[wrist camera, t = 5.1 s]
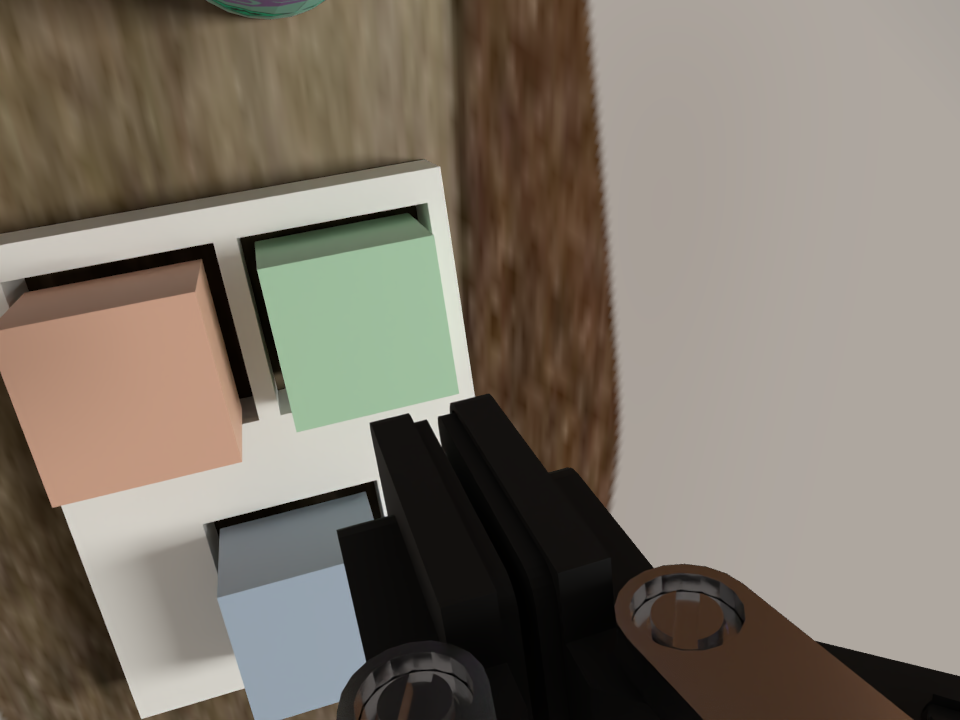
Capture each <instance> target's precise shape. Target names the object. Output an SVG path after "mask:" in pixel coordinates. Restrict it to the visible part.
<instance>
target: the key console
mask: <svg viewBox="0 0 960 720" xmlns="http://www.w3.org/2000/svg"><path fill="white" fill-rule="evenodd" d="M412 205H416V211H417V217H418V222H419V223H420V224H422V225H423V226H424V227H425V228H426V229H427V230H429V231H430V232H431V233H432V234H433V235H434V238H435V245H436V251H437V257H438V264H439V270H440V276H441V283H442V289H443V295H444V301H445V308H446V314H447V320H448V327H449V333H450V339H451V346H452V352H453V358H454V365H455V371H456V377H457V383H458V390H459V394H456V395H452V396H448V397H444V398H439V399H435V400H431V401H427V402H423V403H418V404H414V405H410V406H406V407H402V408H397V409H393V410H389V411H385V412H381V413H376V414H372V415H368V416H364V417H359V418H355V419H351V420H347V421H343V422H338V423H334V424H330V425H326V426H322V427H317V428H313V429H309V430H305V431H301V432H296V428H295V423H294V419H293V415H292V411H291V407H290V403H289V399H288V395H287V391H286V389H282V390H277V386H276V382H275V378H274V374H273V370H272V366H271V361H270V357H269V353H268V349H267V345H266V341H265V337H264V333H263V329H262V325H261V321H260V317H259V313H258V309H257V305H256V301H255V297H254V293H253V289H252V285H251V281H250V277H249V273H248V269H247V265H246V261H245V257H244V253H243V249H242V245H241V241H240V238H241V237H247V236H252V235H257V234H263V233H268V232H273V231H279V230H284V229H289V228H295V227H300V226H305V225H311V224H316V223H321V222H327V221H332V220H337V219H343V218H348V217H353V216H359V215H364V214H369V213H375V212H380V211H386V210H391V209H396V208H402V207H407V206H412ZM209 243H213V244H214V248H215V252H216V256H217V259H218V263H219V267H220V271H221V275H222V279H223V282H224V286H225V290H226V294H227V298H228V302H229V305H230V309H231V313H232V317H233V321H234V325H235V328H236V332H237V336H238V340H239V344H240V347H241V351H242V355H243V359H244V363H245V367H246V370H247V374H248V378H249V382H250V386H251V390H252V393H253V396H251V397H246V398H242V399H240V403H241V407H242V462H240V463H236V464H232V465H228V466H223V467H219V468H215V469H211V470H207V471H203V472H199V473H194V474H190V475H186V476H182V477H178V478H174V479H170V480H166V481H161V482H157V483H153V484H149V485H145V486H141V487H137V488H132V489H128V490H124V491H120V492H116V493H112V494H108V495H104V496H99V497H95V498H91V499H87V500H83V501H79V502H75V503H70V504H66V505H62V506H61V507H62V510H63V513H64V515H65V518H66V521H67V523H68V526H69V529H70V531H71V534H72V536H73V539H74V542H75V544H76V547H77V550H78V552H79V555H80V558H81V560H82V563H83V566H84V568H85V571H86V574H87V576H88V579H89V582H90V584H91V587H92V589H93V592H94V595H95V597H96V600H97V603H98V605H99V608H100V611H101V613H102V616H103V619H104V621H105V624H106V627H107V629H108V632H109V635H110V637H111V640H112V642H113V645H114V648H115V650H116V653H117V656H118V658H119V661H120V664H121V666H122V669H123V672H124V674H125V677H126V680H127V682H128V685H129V688H130V690H131V693H132V696H133V698H134V701H135V703H136V706H137V709H138V711H139V714H140V717H141V719H143V718H146V717H149V716H153V715H156V714H160V713H163V712H166V711H170V710H173V709H176V708H180V707H183V706H186V705H190V704H193V703H197V702H200V701H203V700H207V699H210V698H213V697H217V696H220V695H223V694H227V693H230V692H234V691H237V690H240V689H244V688H245V687H244V684H243V680H242V677H241V674H240V671H239V668H238V664H237V661H236V658H235V655H234V651H233V648H232V645H231V642H230V639H229V635H228V632H227V629H226V626H225V622H224V619H223V616H222V613H221V610H220V606H219V603H218V600H217V586H218V562H219V537H218V534H217V531H216V527H215V524H214V521H218V520H222V519H226V518H229V517H233V516H237V515H241V514H245V513H249V512H253V511H257V510H261V509H265V508H269V507H273V506H277V505H281V504H284V503H288V502H292V501H296V500H300V499H304V498H308V497H312V496H316V495H320V494H324V493H328V492H332V491H335V490H339V489H343V488H347V487H351V486H355V485H359V484H363V483H367V482H371V481H374V485H375V490H376V494H377V499H378V504H379V509H380V513H381V518H382V517H386V516H388V515H387V510H386V505H385V501H384V496H383V491H382V486H381V481H380V476H379V471H378V466H377V461H376V456H375V451H374V447H373V442H372V437H371V431H370V422H374V421H378V420H382V419H386V418H390V417H394V416H399V415H403V414H407V413H409V414H410V415H411V417H412V419H413V421H414V422H418V421H422V420H426V419H427V421H428V422H429V424H430V426H431V428H432V430H433V432H434V434H435V435H436V437H437V439H438V441H439V443H440V445H441V441H440V435H439V428H438V416H442V415H446V414H450V403H452V402H456V401H460V400H464V399H468V398H473V397H475V395H474V388H473V382H472V375H471V368H470V362H469V355H468V349H467V342H466V335H465V329H464V322H463V315H462V309H461V302H460V296H459V289H458V282H457V276H456V269H455V262H454V256H453V249H452V243H451V236H450V229H449V223H448V216H447V209H446V203H445V196H444V190H443V183H442V176H441V170H440V166H438V165H436V164H434V163H431V162H429V161H427V160H425V159H424V160H418V161H413V162H407V163H401V164H395V165H390V166H384V167H378V168H373V169H367V170H361V171H356V172H350V173H344V174H339V175H333V176H327V177H322V178H316V179H310V180H305V181H299V182H293V183H287V184H282V185H276V186H270V187H265V188H259V189H253V190H248V191H242V192H236V193H231V194H225V195H219V196H214V197H208V198H202V199H196V200H191V201H185V202H179V203H174V204H168V205H162V206H157V207H151V208H145V209H140V210H134V211H128V212H123V213H117V214H111V215H106V216H100V217H94V218H88V219H83V220H77V221H71V222H66V223H60V224H54V225H49V226H43V227H37V228H32V229H26V230H20V231H15V232H9V233H3V234H0V318H1V317H2V316H3V314H4V313H5V312H6V311H7V310H8V309H9V308H10V307H11V306H12V305H13V304H14V303H15V302H16V301H17V300H18V299H19V298H20V297H21V296H22V295H23V294H24V293H25V292H29V290H28V287H27V285H26V282H25V279H24V278H27V277H33V276H38V275H43V274H49V273H54V272H59V271H65V270H70V269H75V268H81V267H86V266H92V265H97V264H102V263H108V262H113V261H118V260H124V259H129V258H134V257H140V256H145V255H150V254H156V253H161V252H166V251H172V250H177V249H182V248H188V247H193V246H198V245H204V244H209Z"/></svg>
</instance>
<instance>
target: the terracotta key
mask: <svg viewBox="0 0 960 720" xmlns="http://www.w3.org/2000/svg"><path fill="white" fill-rule="evenodd" d="M0 372H1V375H2V377H3V380H4V383H5V385H6V388H7V391H8V393H9V396H10V398H11V401H12V404H13V406H14V409H15V411H16V414H17V417H18V419H19V422H20V425H21V427H22V430H23V432H24V435H25V438H26V440H27V443H28V445H29V448H30V451H31V453H32V456H33V459H34V461H35V464H36V466H37V469H38V472H39V474H40V477H41V479H42V482H43V485H44V487H45V490H46V493H47V495H48V498H49V500H50V503H51V506H52V508H54V507H58V506H62V505H66V504H70V503H75V502H79V501H83V500H87V499H91V498H95V497H99V496H104V495H108V494H112V493H116V492H120V491H124V490H128V489H132V488H137V487H141V486H145V485H149V484H153V483H157V482H161V481H166V480H170V479H174V478H178V477H182V476H186V475H190V474H194V473H199V472H203V471H207V470H211V469H215V468H219V467H223V466H228V465H232V464H236V463H240V462H242V407H241V403H240V399H239V396H238V392H237V388H236V384H235V381H234V377H233V373H232V370H231V366H230V362H229V358H228V355H227V351H226V347H225V343H224V340H223V336H222V332H221V329H220V325H219V321H218V317H217V314H216V310H215V306H214V302H213V299H212V295H211V291H210V288H209V284H208V280H207V276H206V273H205V269H204V265H203V262H202V259H198V260H193V261H188V262H183V263H177V264H172V265H167V266H162V267H156V268H151V269H146V270H141V271H135V272H130V273H125V274H120V275H114V276H109V277H104V278H99V279H93V280H88V281H83V282H78V283H72V284H67V285H62V286H57V287H51V288H46V289H41V290H36V291H30V292H25V293H24V294H23V295H22V296H21V297H20V298H19V299H18V300H17V301H16V302H15V303H14V304H13V305H12V306H11V307H10V308H9V309H8V310H7V311H6V312H5V313H4V314H3V316H2V317H1V318H0Z"/></svg>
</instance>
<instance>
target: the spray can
mask: <svg viewBox="0 0 960 720" xmlns="http://www.w3.org/2000/svg"><path fill="white" fill-rule="evenodd" d="M206 1H207V2H209V3H211V4H213V5H215V6H217V7H219V8H221V9H223V10H225V11H227V12H230V13H234V14H237V15H241V16H244V17H248V18H257V19H270V20H271V19H279V18H286V17H292V16H295V15H298V14H300V13H303V12H306V11H309V10H311V9H313V8H314V7H316V6H317V5H319V4H320V3H322V2H324V1H325V0H206Z"/></svg>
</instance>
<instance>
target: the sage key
mask: <svg viewBox="0 0 960 720" xmlns="http://www.w3.org/2000/svg"><path fill="white" fill-rule="evenodd" d="M255 252H256V264H257V272H258V276H259V280H260V284H261V288H262V292H263V296H264V300H265V305H266V309H267V313H268V317H269V321H270V325H271V329H272V333H273V337H274V341H275V346H276V350H277V354H278V358H279V362H280V366H281V370H282V374H283V378H284V382H285V387H286V391H287V395H288V399H289V403H290V407H291V411H292V415H293V419H294V423H295V428H296V432H301V431H305V430H309V429H313V428H317V427H322V426H326V425H330V424H334V423H338V422H343V421H347V420H351V419H355V418H359V417H364V416H368V415H372V414H376V413H381V412H385V411H389V410H393V409H397V408H402V407H406V406H410V405H414V404H418V403H423V402H427V401H431V400H435V399H439V398H444V397H448V396H452V395H456V394H459V390H458V383H457V377H456V371H455V365H454V358H453V352H452V346H451V339H450V333H449V327H448V320H447V314H446V308H445V301H444V295H443V289H442V283H441V276H440V270H439V264H438V257H437V251H436V245H435V238H434V235H433V234H432V233H431V232H430V231H429V230H427V229H426V228H425V227H424V226H423V225H422V224H420V223H419V222H418V221H417V220H416V219H415V218H413V217H412V216H411V215H410V214H409V213H404V214H399V215H394V216H388V217H383V218H378V219H372V220H367V221H362V222H357V223H351V224H346V225H341V226H335V227H330V228H325V229H319V230H314V231H309V232H304V233H298V234H293V235H288V236H282V237H277V238H272V239H266V240H261V241H256V242H255Z"/></svg>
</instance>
